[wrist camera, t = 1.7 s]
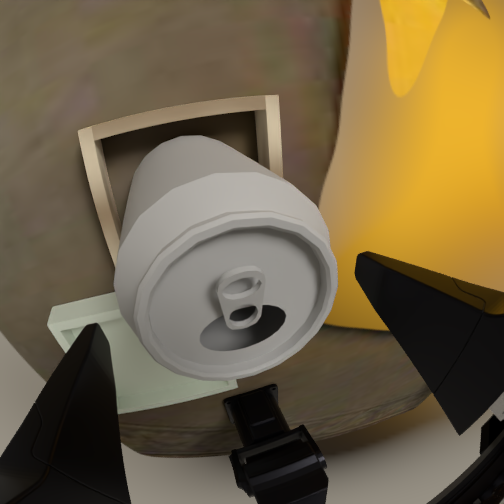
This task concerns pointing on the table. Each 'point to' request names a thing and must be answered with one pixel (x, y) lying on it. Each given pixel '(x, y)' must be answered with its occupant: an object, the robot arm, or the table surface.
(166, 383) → the tray
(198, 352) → the can
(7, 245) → the table surface
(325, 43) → the table surface
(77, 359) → the robot arm
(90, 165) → the holder
